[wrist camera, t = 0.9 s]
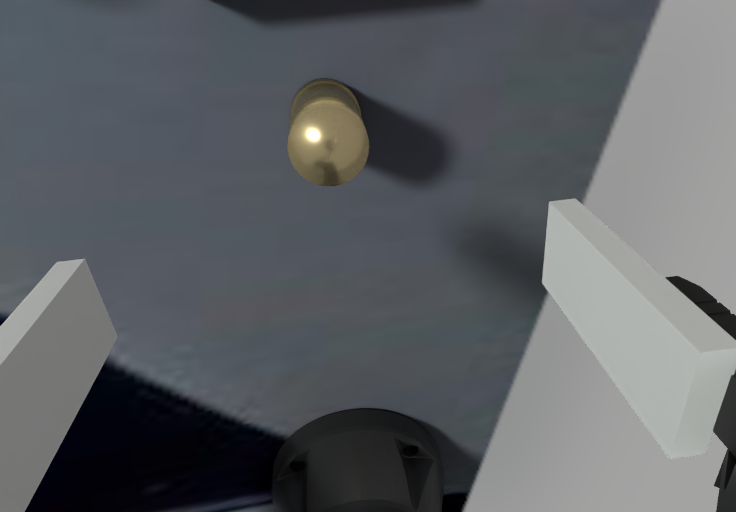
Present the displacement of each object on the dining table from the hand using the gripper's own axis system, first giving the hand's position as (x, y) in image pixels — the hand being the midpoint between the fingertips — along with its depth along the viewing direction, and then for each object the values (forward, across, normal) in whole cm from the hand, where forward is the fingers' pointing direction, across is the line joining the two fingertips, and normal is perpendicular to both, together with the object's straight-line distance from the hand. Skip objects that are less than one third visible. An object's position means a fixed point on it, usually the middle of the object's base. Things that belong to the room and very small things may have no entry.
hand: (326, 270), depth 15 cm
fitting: (+19, 0, 0) cm, 19 cm away
